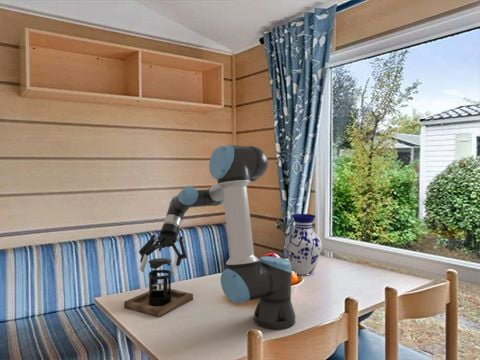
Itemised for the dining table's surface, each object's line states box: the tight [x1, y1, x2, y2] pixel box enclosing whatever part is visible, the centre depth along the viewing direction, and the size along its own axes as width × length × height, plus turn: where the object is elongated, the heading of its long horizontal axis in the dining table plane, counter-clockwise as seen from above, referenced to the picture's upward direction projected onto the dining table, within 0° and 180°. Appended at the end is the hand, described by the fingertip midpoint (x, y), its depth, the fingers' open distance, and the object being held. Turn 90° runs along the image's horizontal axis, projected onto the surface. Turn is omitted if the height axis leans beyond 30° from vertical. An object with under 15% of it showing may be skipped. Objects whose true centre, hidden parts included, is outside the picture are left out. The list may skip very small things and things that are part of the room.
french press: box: [148, 245, 172, 306], centre depth 157 cm, size 12×9×23 cm
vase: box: [284, 213, 323, 276], centre depth 201 cm, size 19×19×30 cm
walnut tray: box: [123, 288, 194, 318], centre depth 158 cm, size 18×21×2 cm
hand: (157, 271), depth 155 cm, fingers open, 13 cm apart
